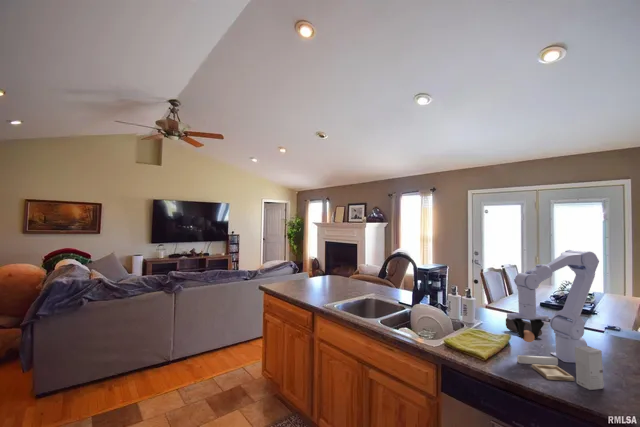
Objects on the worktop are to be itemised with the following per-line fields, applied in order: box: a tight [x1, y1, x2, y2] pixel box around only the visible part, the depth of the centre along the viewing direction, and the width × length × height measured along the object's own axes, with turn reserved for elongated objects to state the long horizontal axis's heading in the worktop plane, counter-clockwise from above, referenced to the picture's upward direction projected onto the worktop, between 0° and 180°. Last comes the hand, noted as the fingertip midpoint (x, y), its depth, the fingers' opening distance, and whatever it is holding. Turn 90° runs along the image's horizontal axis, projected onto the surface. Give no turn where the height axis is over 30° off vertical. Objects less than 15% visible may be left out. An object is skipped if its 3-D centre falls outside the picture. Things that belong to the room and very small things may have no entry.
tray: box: [531, 364, 576, 382], centre depth 103 cm, size 9×9×1 cm
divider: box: [516, 354, 559, 366], centre depth 111 cm, size 14×1×2 cm, turn 84°
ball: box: [522, 330, 536, 343], centre depth 114 cm, size 4×4×4 cm
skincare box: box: [575, 345, 604, 391], centre depth 95 cm, size 6×4×12 cm
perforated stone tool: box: [505, 317, 543, 337], centre depth 142 cm, size 15×5×7 cm, turn 36°
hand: (528, 338), depth 114 cm, fingers closed on ball, 4 cm apart
